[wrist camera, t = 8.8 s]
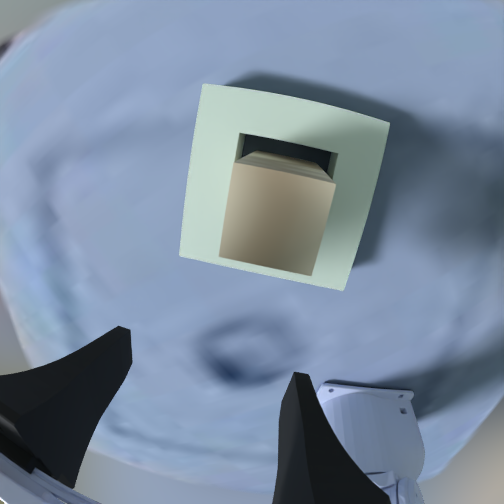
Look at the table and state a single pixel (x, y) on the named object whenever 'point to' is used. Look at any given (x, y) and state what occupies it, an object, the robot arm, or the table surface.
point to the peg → (276, 212)
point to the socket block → (291, 130)
